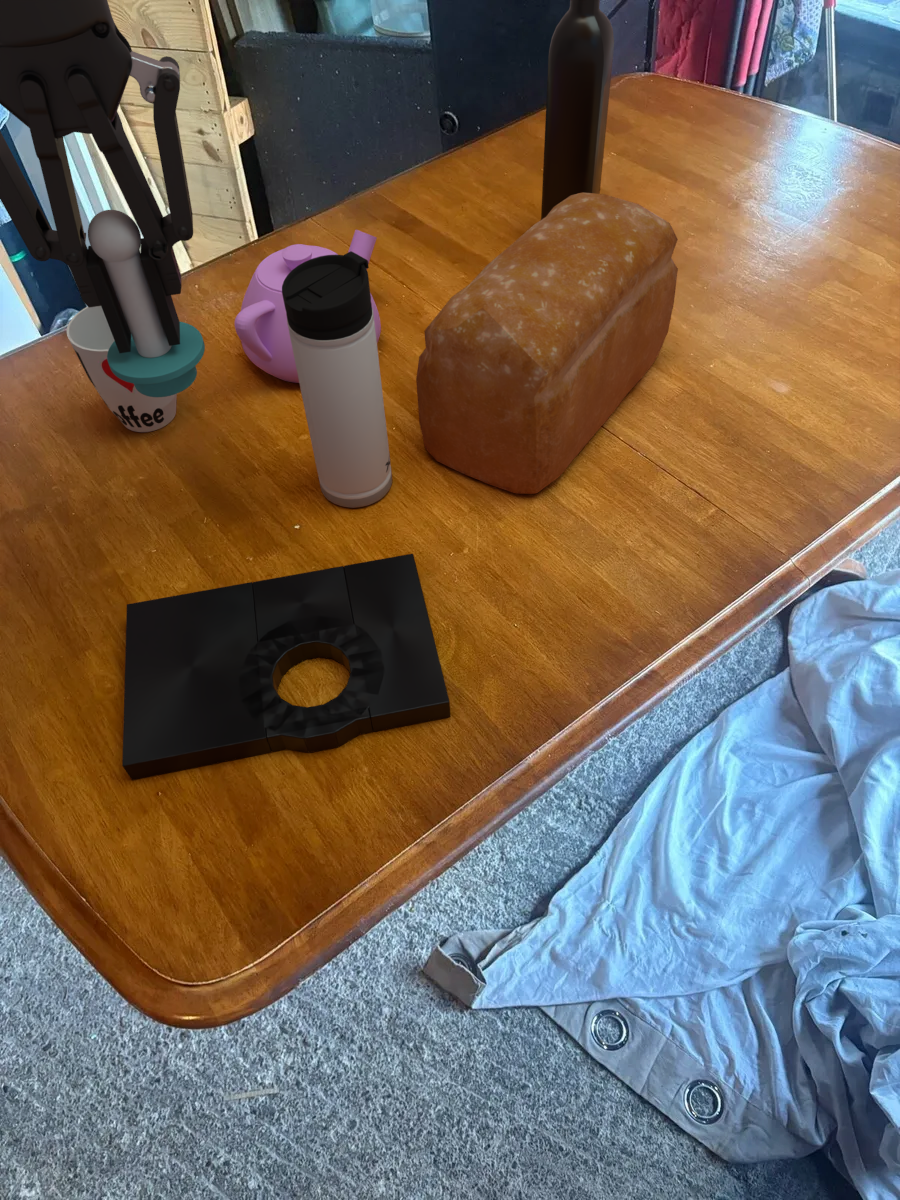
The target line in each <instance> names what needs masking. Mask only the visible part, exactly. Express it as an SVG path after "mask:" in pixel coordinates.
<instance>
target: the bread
mask: <svg viewBox="0 0 900 1200" xmlns="http://www.w3.org/2000/svg"><path fill="white" fill-rule="evenodd" d="M678 240H679V239H678V237H677V235H676V233H675V230H674V228H673V227H672V224H671V222H670V221H667V220H666V219H664V218H662V217H661V216H659V215H658V214H656V213H654V212H653V211H651V210H649V209H648V208H646V207H644V206H642V205H641V204H639V203H637V202H634V201H629V200H626V199H623V198H619V197H616V196H613V195H608V194H605V193H600V194H595V193H578V194H574V195H571V196H569V197H568V198H566V199H565V200H563V201H562V202H560V203H559V204H557V205H556V206H554V207H553V209H552V210H551V211H550V212H549V214H548V215H547V216H546V217H545V218H543V219H542V220H541V219H540V220H538V221H537V222H536V223H534V224H533V225H532V226H531V227H530V228H528V229H527V230H526V231H525V232H524V233H523V234H522V235H520V236H519V237H518V238H517V239H516V240H514V241H513V242H512V243H511V244H510V245H509V246H507V247H506V248H505V249H504V250H503V251H502V252H501V253H499V254H498V255H497V256H496V257H494V259H492V260H491V261H490V262H489V263H487V264H486V265H485V266H484V268H482V270H481V271H480V272H479V273H478V274H477V275H476V277H475V278H473V280H472V281H471V282H470V283H469V284H468V285H466V286H465V287H463V288H462V289H460V290H459V291H458V292H456V293H455V294H453V295H452V296H451V297H450V298H449V299H448V300H447V302H446V303H445V304H444V305H443V306H442V308H441V309H440V310H439V312H438V313H437V315H436V316H434V318H433V319H432V320H431V321H430V323H429V324H428V325H427V327H426V328H425V330H424V331H423V332H424V342H425V343H424V344H425V348H424V349H423V351H422V352H421V353H420V355H419V356H418V363H417V371H416V377H415V378H416V379H415V381H416V395H417V408H418V422H419V428H420V432H421V436H422V437H421V438H422V441H423V446H424V449H425V450H426V451H427V452H428V453H429V454H430V455H431V456H432V457H433V459H434V460H435V461H436V462H438V463H440V464H443V465H444V466H446V467H448V468H451V469H453V470H455V471H457V472H459V473H460V474H463V475H466V476H468V477H470V478H473V479H474V480H477V481H480V482H481V483H485V484H487V485H489V486H493V487H496V488H499V489H501V490H504V491H507V492H510V493H513V494H537V493H540V492H541V491H542V490H544V489H545V488H546V487H548V486H549V485H550V484H552V483H553V482H554V481H556V480H557V479H558V478H560V477H561V476H562V475H563V473H564V472H565V471H566V469H567V468H568V467H569V466H570V464H571V463H572V462H573V461H574V459H576V457H577V456H578V454H579V453H580V452H581V451H582V450H583V449H584V448H585V447H586V445H587V444H588V443H589V442H590V440H591V439H592V438H593V437H594V436H595V434H596V433H597V432H598V431H599V430H600V429H601V427H602V426H603V425H604V424H605V423H606V422H607V420H608V419H609V418H610V417H611V416H612V414H614V412H615V410H616V409H617V408H618V407H619V405H620V404H621V403H622V401H623V400H624V399H625V398H626V397H627V395H628V394H629V393H630V392H631V391H632V389H633V388H634V387H635V386H636V385H637V384H638V383H639V382H640V380H641V379H642V378H643V377H644V376H645V374H646V373H647V372H648V371H649V370H650V368H651V367H652V366H653V364H654V363H655V362H656V361H657V360H656V359H657V358H658V356H659V353H660V352H661V350H662V347H663V345H664V343H665V340H666V338H667V335H668V332H669V328H670V324H671V319H672V314H673V309H674V303H675V296H676V287H677V280H678V279H677V278H678V271H679V268H678V266H677V265H676V262H675V261H674V260H673V258H672V256H673V254H674V251H675V248H676V245H677V244H678V243H677V242H678Z"/></svg>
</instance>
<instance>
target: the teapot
mask: <svg viewBox="0 0 900 1200" xmlns="http://www.w3.org/2000/svg"><path fill="white" fill-rule="evenodd" d="M377 238H378V237H376V236H374V235H372V234H369V233H367V232H364V231H361V230H359V229H355V230H354V232H353V236H352V239H351V241H350V246H349V249H348V251H347V253H348V252H350V251H352V252H354V253H356V254H357V255H359V256H361V257H363V258H365V259H366V260H368V265H369V264H370V261H371V258H372V254H373V251H374V248H375V246H376V242H377ZM325 255H339V254H338V253H337V252H335V251H333V250H331V249H329V248H326V247H324V246H323V247H322V246H318V245H307V244H301V243H296V244H291V245H287V246H286V247H285V248H282V249H279V250H278V251H275V252H273V253H271V254H270V255H268V256H267V257H265V258H264V259H263V260H262V261H261V262H260V263H259V264H258V265H257V266H256V269H255V271H254V273H253V274H252V277H251V279H250V281H249V283H248V286H247V288H246V291H245V293H244V297H243V300H242V303H241V306H240V307H241V308H240V311H239V312H238V313H237V314H236V316H235V318H234V329H235V332H236V334H237V336H238V338H239V340H240V343H241V345H242V350H243V351H244V354H245V355H246V356H247V358H248V359H249V360H250V362H251V363H252V364H254V365H255V367H258V368H259V369H261V370H262V371H264V372H265V373H267V374H268V375H271V376H272V377H274V378H277V379H279V380H282V381H285V382H289V383H294V384H300V383H299V378H298V373H297V368H296V364H295V359H294V354H293V349H292V344H291V339H290V334H289V328H288V324H287V315H286V309H285V305H284V300H283V295H282V285H283V282H284V280H285V278H286V277H287V275H288V274H289V273H290V272H291V271H292V270H293V269H294V268H296V267H297V266H298V265H300V264H302V263H304V262H305V261H308V260H310V259H313V258H316V257H320V256H325ZM366 269H367V268H366ZM367 270H368V269H367ZM370 295H371V304H372V309H373V315H374V323H375V332H376V341H377V344H378V342H379V340H380V336H381V332H382V325H381V317H380V313H379V310H378V308H377V305H376V302H375V299H374V297H373V295H372V293H371V292H370Z"/></svg>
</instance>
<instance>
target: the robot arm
mask: <svg viewBox="0 0 900 1200" xmlns="http://www.w3.org/2000/svg"><path fill="white" fill-rule="evenodd" d="M130 77H132V78H133V79H134V80H136V82H137V84H138V86H139V93H140V96H141V98H142V99H143V100H144V101H145V102H147V103H149V104H152V107H153V108H152V110H153V111H152V113H153V117H152V119H153V125H154V126H153V127H154V131H155V138H156V143H157V148H158V154H159V159H160V160H159V161H160V165H161V170H162V176H163V181H164V187H165V192H166V196H167V204H168V209H169V213H168V214H166V215H163V213H162V210H161V208H160V206H159V204H158V202H157V200H156V197H155V196H154V194H153V191H152V189H151V187H150V184H149V182H148V180H147V178H146V176H145V174H144V171H143V169H142V167H141V164H140V162H139V160H138V158H137V156H136V153H135V151H134V149H133V147H132V145H131V142H130V141H129V138H128V136H127V134H126V132H125V129H124V126H123V125H124V124H123V122H122V120H121V117H120V114H119V112H118V109H119V107H120V104H121V100H122V98H123V95H124V92H125V89H126V86H127V84H128V81H129V78H130ZM180 90H181V73H180V65H179V62H178V61H177V60H176V59H175V58H174V57H172V56H167V55H166V56H163V57H161V58H160V59H159V60H158V59H155V58H153V57H150V56H147V55H143V54H142V53H139V52H135V51H133V49H132V46H131V45H130V42H129V41H128V39H127V38H126V37H125V36H124V35H123V33H122V32H121V31H120V29H119V28H118V27H117V24H116V23H115V21H114V18H113V16H112V12H111V9H110V6H109V1H108V0H0V105H1V106H2V107H3V108H4V109H5V110H7V111H8V112H9V113H10V114H11V115H13V117H15V118H17V119H18V120H19V121H20V122H21V123H22V124H24V125H25V126H27V128H28V129H29V132H30V136H31V140H32V145H33V148H34V152H35V155H36V157H37V158H38V161H39V165H40V169H41V174H42V177H43V182H44V185H45V189H46V194H47V197H48V201H49V206H50V210H51V214H52V217H53V223H54V225H55V229H52V227H51V225H50V223H49V221H48V219H47V216H46V215H45V214H44V212H43V210H42V207H41V205H40V204H39V202H38V200H37V198H36V196H35V194H34V192H33V190H32V188H31V187H30V185H29V183H28V181H27V180H26V177H25V176H24V174H23V171H22V170H21V168H20V166H19V164H18V162H17V160H16V158H15V156H14V154H13V152H12V150H11V149H10V147H9V145H8V142H7V141H6V139H5V138H4V137H5V136H4V135H3V133H2V132H1V130H0V202H1V204H2V205H3V207H4V209H5V211H6V212H7V214H8V216H9V218H10V220H11V222H12V223H13V225H14V227H15V228H16V230H17V233H18V234H19V236H20V238H21V240H22V241H23V243H24V245H25V247H26V248H27V250H28V252H29V254H30V255H31V256H32V258H33V259H34V260H36V261H38V262H46V261H49V260H57V261H61V262H63V263H64V264H66V266H67V267H68V268H69V270H70V273H71V276H72V278H73V281H74V282H75V285H76V288H77V290H78V292H79V295H80V297H81V300H82V303H84V305H86V307H96V306H101V307H102V309H103V312H104V315H105V317H106V320H107V322H108V325H109V327H110V330H111V333H112V335H113V338H114V340H115V343H116V345H117V348H118V351H119V353H126V352H131V332H130V329H129V327H128V324H127V321H126V319H125V316H124V314H123V311H122V308H121V306H120V303H119V301H118V298H117V295H116V293H115V290H114V287H113V285H112V282H111V280H110V277H109V274H108V272H107V269H106V267H105V264H104V261H103V259H102V258H100V257H99V256H98V255H97V254H96V253H95V252H94V250H93V249H92V247H91V245H88V246H87V244H86V243H87V242H86V241H87V232H85V230H84V226H83V221H82V217H81V212H80V209H79V208H80V206H79V203H78V199H77V194H76V190H75V185H74V180H73V177H72V171H71V168H70V163H69V158H68V154H67V150H66V146H65V141H64V137H66V136H68V135H71V134H73V133H79V134H84V135H85V134H86V135H91V136H92V138H93V141H94V142H95V144H96V146H97V148H98V150H99V152H100V153H102V155H103V157H104V158H105V161H106V162H107V164H108V166H109V169H110V170H111V173H112V175H113V177H114V179H115V181H116V184H117V185H118V187H119V190H120V192H121V194H122V196H123V197H124V200H125V202H126V204H127V206H128V208H129V210H130V212H131V214H132V216H133V218H134V222H135V223H136V225H137V226H138V228H139V231H140V234H141V236H142V237H143V238H142V237H141V246H140V253H141V263H142V266H143V269H144V272H145V275H146V278H147V281H148V284H149V287H150V290H151V293H152V296H153V298H154V301H155V304H156V307H157V310H158V313H159V316H160V319H161V322H162V325H163V328H164V331H165V334H166V337H167V340H168V343H169V346H172V345H178V344H180V322H181V321H180V319H179V316H178V313H177V309H176V307H175V306H176V305H175V303H174V300H173V297H172V296H175V295H181V294H182V286H183V285H182V273H181V270H180V267H179V264H178V263H179V262H178V260H177V256H176V254H175V250H174V246H175V244H177V243H179V242H188V241H190V240H192V238H193V237H194V217H193V208H192V202H191V197H190V189H189V184H188V177H187V172H186V165H185V160H184V153H183V147H182V141H181V135H180V128H179V123H178V116H177V106H178V101H179V96H180ZM179 321H180V322H179Z"/></svg>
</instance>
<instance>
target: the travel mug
mask: <svg viewBox="0 0 900 1200" xmlns="http://www.w3.org/2000/svg"><path fill="white" fill-rule="evenodd" d="M366 268H367V269H366ZM368 269H369V264H368V260H366V259H365V258H363V257H361V256H359V255H357V254H356V253H354V252H352V251H350V252H348V251H347V252H346V253H344V254H338V255H325V256H320V257H316V258H313V259H310V260H308V261H305V262H304V263H302V264H300V265H298V266H297V267H296V268H294V269H293V270H292V271H291V272H290V273H289V274H288V275H287V277H286V278H285V280H284V282H283V285H282V295H283V300H284V305H285V309H286V315H287V324H288V328H289V334H290V339H291V344H292V349H293V354H294V359H295V364H296V368H297V373H298V378H299V383H298V384H299V388H300V393H301V398H302V403H303V408H304V413H305V417H306V422H307V423H306V424H307V427H308V433H309V438H310V442H311V448H312V452H313V457H314V462H315V468H316V473H317V476H318V483H319V487H320V490H321V493H322V494H323V496H324V497H325V498H326V499H327V501H329V502H331V503H333V504H334V505H337V506H339V507H344V508H351V509H353V508H354V509H355V508H362V507H368V506H370V505H372V504H374V503H377V502H379V501H380V500H381V499H383V498H384V497H385V496H386V495H387V494H388V492H389V491H390V489H391V487H392V484H393V474H392V473H393V472H392V466H391V455H390V447H389V445H390V444H389V437H388V429H387V428H388V427H387V421H386V411H385V401H384V394H383V386H382V385H383V384H382V377H381V368H380V359H379V358H380V357H379V350H378V343H377V341H376V332H375V323H374V315H373V309H372V304H371V295H372V294H371V295H370V293H371V287H370V278H369V271H368Z"/></svg>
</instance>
